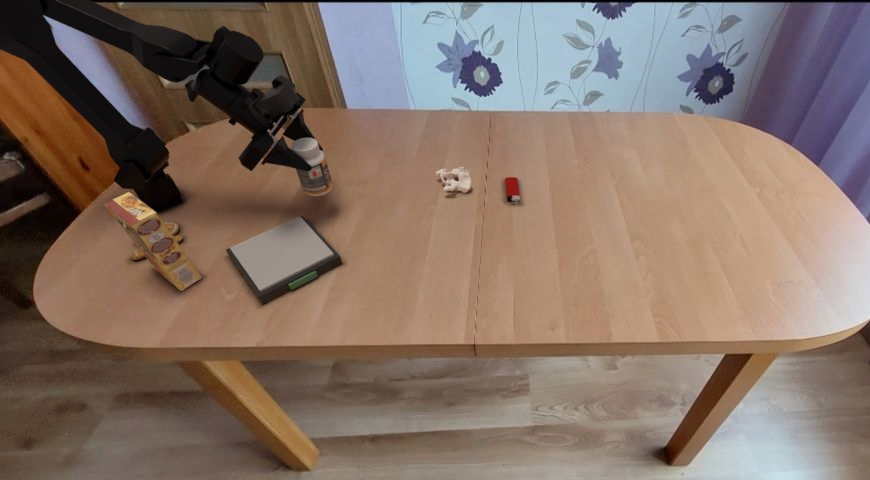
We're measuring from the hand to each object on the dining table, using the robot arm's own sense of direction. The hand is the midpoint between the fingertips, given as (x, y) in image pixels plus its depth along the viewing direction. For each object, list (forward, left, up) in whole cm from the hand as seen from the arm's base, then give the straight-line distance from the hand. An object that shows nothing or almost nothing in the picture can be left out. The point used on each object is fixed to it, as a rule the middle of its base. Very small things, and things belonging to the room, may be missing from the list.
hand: (316, 160), depth 87 cm
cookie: (-29, +13, -12) cm, 34 cm away
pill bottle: (-1, +1, -7) cm, 7 cm away
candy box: (-29, +2, -12) cm, 32 cm away
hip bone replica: (+25, -9, -12) cm, 29 cm away
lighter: (+33, -19, -12) cm, 40 cm away
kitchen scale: (-13, -7, -12) cm, 19 cm away
